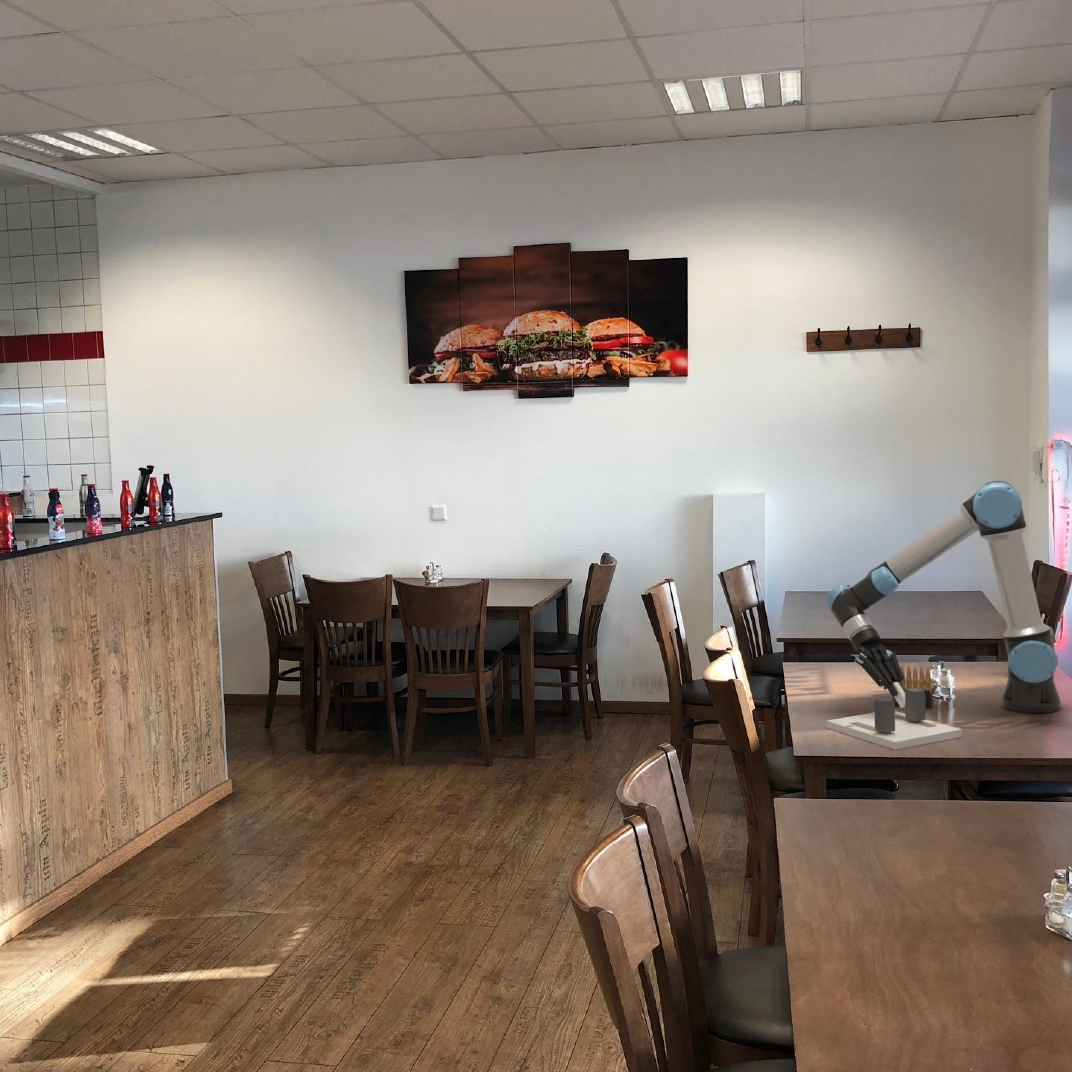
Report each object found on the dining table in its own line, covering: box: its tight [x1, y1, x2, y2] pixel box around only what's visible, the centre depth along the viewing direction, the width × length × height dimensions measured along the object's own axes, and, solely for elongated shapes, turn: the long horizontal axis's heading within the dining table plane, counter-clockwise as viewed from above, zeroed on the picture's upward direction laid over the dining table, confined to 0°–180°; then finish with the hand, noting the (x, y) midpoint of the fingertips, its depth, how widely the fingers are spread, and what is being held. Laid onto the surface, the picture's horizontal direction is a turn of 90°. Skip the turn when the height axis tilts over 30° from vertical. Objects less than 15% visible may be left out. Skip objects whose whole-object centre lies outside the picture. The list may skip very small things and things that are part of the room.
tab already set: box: [873, 697, 896, 733], centre depth 287 cm, size 4×4×8 cm
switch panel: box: [826, 710, 963, 751], centre depth 295 cm, size 26×22×2 cm
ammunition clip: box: [892, 665, 933, 710], centre depth 321 cm, size 11×2×12 cm, turn 66°
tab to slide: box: [904, 687, 926, 722], centre depth 296 cm, size 4×4×8 cm
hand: (905, 705), depth 299 cm, fingers closed
